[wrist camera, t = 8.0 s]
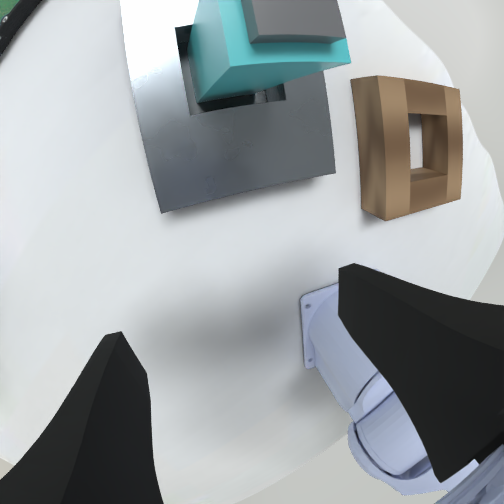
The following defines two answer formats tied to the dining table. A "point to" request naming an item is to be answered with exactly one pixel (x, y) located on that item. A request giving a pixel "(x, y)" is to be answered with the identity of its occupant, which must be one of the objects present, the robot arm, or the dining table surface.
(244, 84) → the plug
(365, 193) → the tan square ring
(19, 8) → the disk drive
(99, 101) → the dining table surface
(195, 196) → the port block
